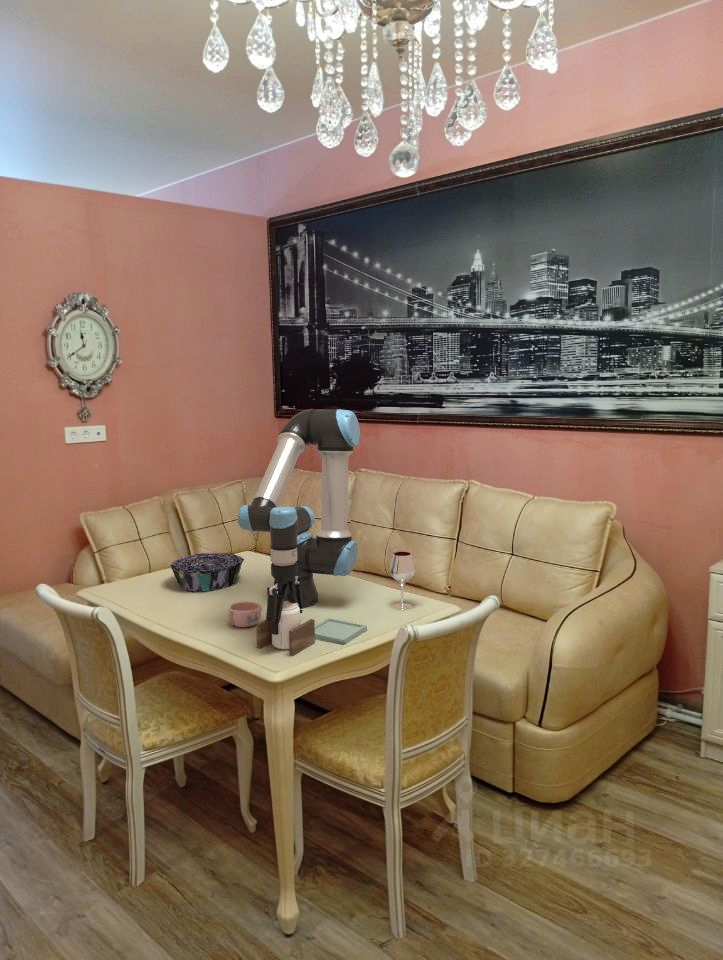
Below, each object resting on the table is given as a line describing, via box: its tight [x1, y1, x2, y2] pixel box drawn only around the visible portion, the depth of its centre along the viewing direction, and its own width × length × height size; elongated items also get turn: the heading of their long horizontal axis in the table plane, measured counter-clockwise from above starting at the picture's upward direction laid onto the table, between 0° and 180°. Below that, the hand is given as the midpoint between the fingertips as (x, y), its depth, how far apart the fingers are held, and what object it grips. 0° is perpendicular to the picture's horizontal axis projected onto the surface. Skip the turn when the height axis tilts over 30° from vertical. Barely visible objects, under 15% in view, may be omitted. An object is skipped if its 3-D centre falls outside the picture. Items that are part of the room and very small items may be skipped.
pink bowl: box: [227, 601, 263, 628], centre depth 233 cm, size 12×10×6 cm
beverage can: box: [271, 601, 301, 650], centre depth 215 cm, size 8×8×12 cm
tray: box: [315, 617, 368, 646], centre depth 225 cm, size 14×14×2 cm
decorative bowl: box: [169, 552, 245, 593], centre depth 275 cm, size 26×28×10 cm
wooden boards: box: [255, 618, 316, 657], centre depth 215 cm, size 12×11×7 cm
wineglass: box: [389, 551, 416, 611], centre depth 247 cm, size 8×8×18 cm
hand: (286, 639), depth 215 cm, fingers closed on beverage can, 8 cm apart
